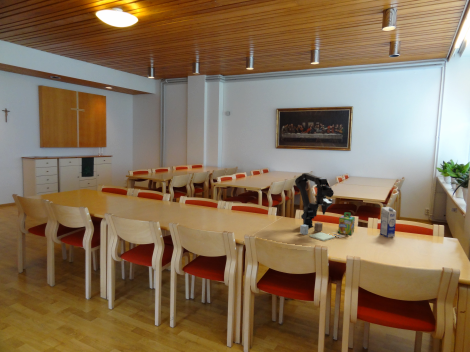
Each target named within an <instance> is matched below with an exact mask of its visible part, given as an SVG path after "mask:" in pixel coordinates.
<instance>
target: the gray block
mask: <svg viewBox="0 0 470 352" xmlns="http://www.w3.org/2000/svg"><path fill="white" fill-rule="evenodd" d="M299 227H300V229H299V230H300V231H299V234H301V235H304V236H305V235H309V228H308V225H303V224H300V225H299Z"/></svg>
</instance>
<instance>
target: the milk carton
mask: <svg viewBox="0 0 470 352" xmlns="http://www.w3.org/2000/svg"><path fill="white" fill-rule="evenodd" d="M380 213H381V215H380V229H379V235H381V236H382V237H386V238H391V237H392V238H393V237H395V235H396V234H395V233H396V222H397V210H395V209H394V208H392V207H391V206H384V207H383V206H382V207H381V212H380Z"/></svg>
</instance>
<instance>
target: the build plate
mask: <svg viewBox="0 0 470 352" xmlns="http://www.w3.org/2000/svg"><path fill="white" fill-rule="evenodd" d="M329 234H330V233H325V232H323V231H322V232H316V233H314V234H309V237H311V238H312V239H316V240H319V241H323V242H325V240H326V241H329V240H332V238H333V239H335V238H336V237H335V236H332V235H329Z"/></svg>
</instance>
